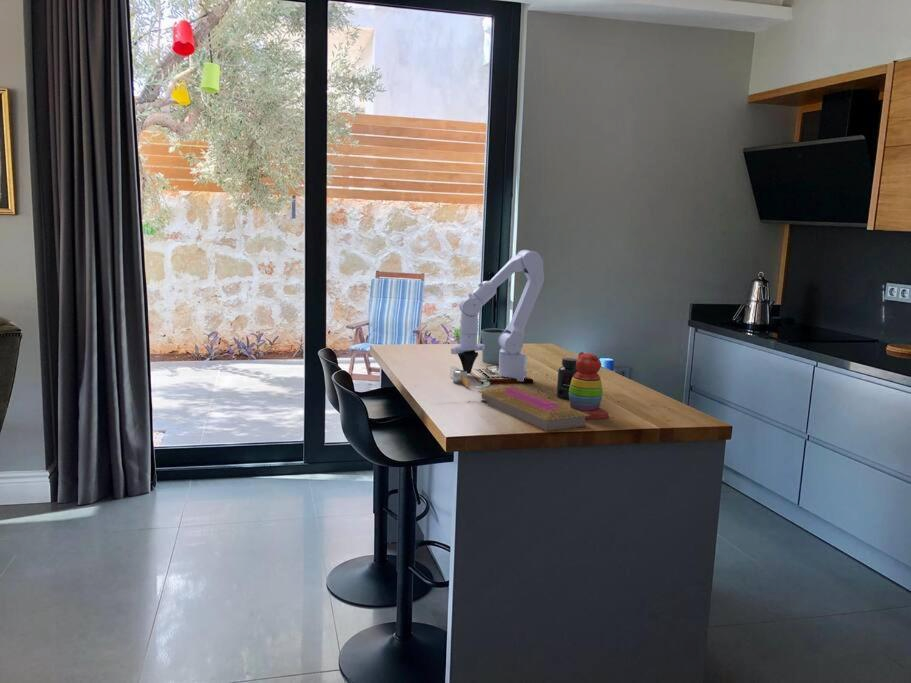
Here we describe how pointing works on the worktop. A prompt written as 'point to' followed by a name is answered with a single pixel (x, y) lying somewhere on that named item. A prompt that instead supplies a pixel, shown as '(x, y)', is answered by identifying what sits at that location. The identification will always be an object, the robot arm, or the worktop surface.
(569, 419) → the rafter model
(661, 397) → the worktop surface
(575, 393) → the stacking bear
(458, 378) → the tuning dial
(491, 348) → the grey cylinder
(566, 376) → the supplement bottle
